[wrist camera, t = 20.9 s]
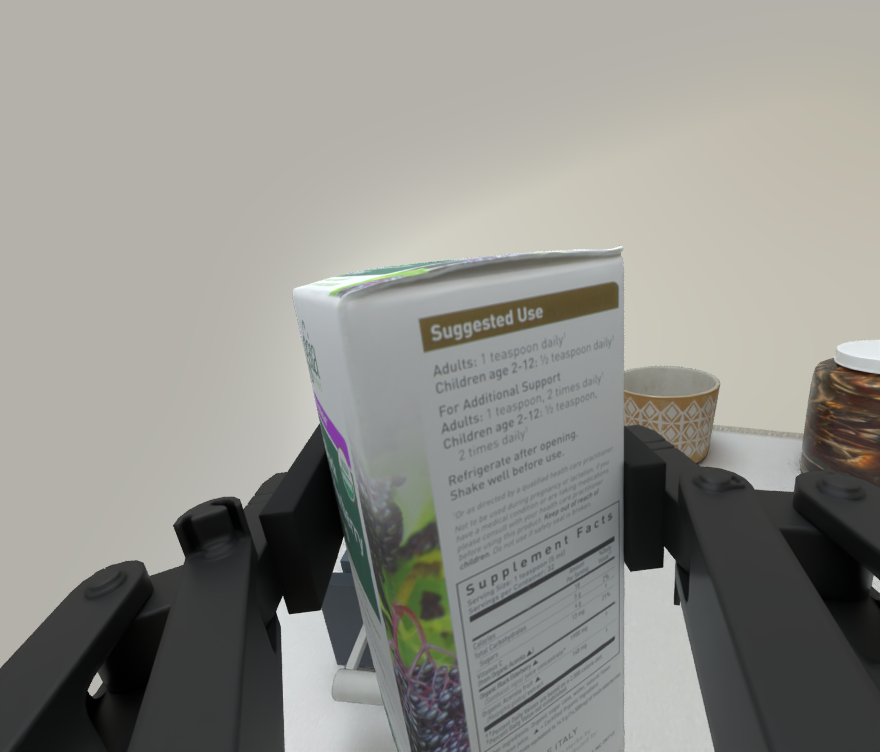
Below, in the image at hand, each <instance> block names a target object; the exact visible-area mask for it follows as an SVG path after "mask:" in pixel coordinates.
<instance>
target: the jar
mask: <svg viewBox="0 0 880 752" xmlns="http://www.w3.org/2000/svg"><path fill="white" fill-rule="evenodd" d="M800 468H801V471H802V473H805V472H811V471H834V472H837V473H839V472H841V473H845V474H849V475H851V476H853V477H857V478H860V479H863V480H865V481H867V482H870V483H872V484H874V485H876V486H878V487H880V340H863V341H862V340H861V341H852V342H846V343H843V344H840V345H839V346H837V349H836V356H835V358H832V359H828V360H825V361H823V362H820V363H819V364H818V365H817V366H816V368H815V371H814V373H813V377H812V382H811V388H810V394H809V400H808V408H807V414H806V422H805V429H804V437H803V445H802V453H801V463H800Z"/></svg>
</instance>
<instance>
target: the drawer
mask: <svg viewBox="0 0 880 752" xmlns="http://www.w3.org/2000/svg"><path fill="white" fill-rule="evenodd" d="M340 562H341V566H342V570H343V573H332V576H331V579H330V582H329V585H328V588H327V592H326V595H325V598H324V601H323V604H322V611H323V615H324V619H325V622H326V626H327V629H328V633H329V636H330V640H331V644H332V647H333V651H334V654H335V658H336V661H337V664H338V665H346V667H345V669H340V670H338V671H337V673H336V675H335V677H334V680H333V685H332V697H333V699H334V700H335V701H343V702H352V703H362V704H371V705H381V706H384V705H383V701H382V698H381V694H380V690H379V685H378V681H377V677H376V672H370V671H359V670H357V668H358V666H359V667H371V668H374V665H373V661H372V656H371V652H370V648H369V644H368V640H367V635H366V631H365V627H364V623H363V619H362V614H361V610H360V605H359V601H358V597H357V593H356V589H355V584H354V579H353V575H352V571H351V566H350V561H349V556H348V552H347V550H346V552H345V553H344V555H343V557H342V559H341V561H340Z"/></svg>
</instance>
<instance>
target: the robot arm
mask: <svg viewBox="0 0 880 752" xmlns="http://www.w3.org/2000/svg"><path fill="white" fill-rule="evenodd" d="M173 527H174V529H175V532H176V534H177V537H178V540H179V542H180V545H181V547H182V550H183V553H184V555H185V562H184V565H181V566H179V567H176V568H173V569H170V570H167V571H164V572H161V573H158V574H155V575H152V576H149V575H148V572H147V570H146V568H145V565H144V563H143V562H140V561H136V560H135V561H125V562H122V563H118V564H114V565H111V566H108V567H106V569H102V570H100V571H98V572H96V573H95V574H94V575H92V576H91V577H89V578H88V579H86V580H85V581H83V582H82V583H81V584H80V585H78V586H77V587H76V588H75V589H74V590H73V591H72V592H71V593H70V594H69V595H68V596H67V597H66V598H65V599H64V600H63V601H62V602H61V604H60V605H59V606H58V607H57V608H56V609H55V610H54V611H53V612H52V613H51V614H50V615H49V616H48V617H47V619H46V620H45V621H44V622H43V623H42V624H41V625H40V626H39V627H38V628H37V629H36V631H35V632H34V633H33V634H32V635H31V636H30V637H29V638H28V639H27V640H26V641H25V643H24V644H23V645H21V647H20V648H19V649H18V650H17V651H16V652H15V653H14V654H13V655H12V656H11V658H9V660H8V661H7V662H6V663H5V664H4V665H3V666H2V667H1V668H0V752H285V748H284V716H283V684H282V652H281V626H280V623H279V620H278V617H277V613H276V610H277V608H278V605H279V603H280V601H281V599H282V596H283V597H284V600H285V603H286V606H287V610H288V613H289V614H295V613H303V612H311V611H319V610H321V608H322V604H323V601H324V598H325V595H326V592H327V588H328V585H329V582H330V579H331V576H332V572H333V569H334V566H335V563H336V559H337V556H338V553H339V550H340V547H341V543H342V540H343V537H344V533H343V529H342V524H341V520H340V515H339V510H338V505H337V501H336V496H335V492H334V487H333V482H332V477H331V471H330V468H329V463H328V458H327V453H326V449H325V444H324V439H323V435H322V430H321V425H320V424H319V425H318V427H317V428H316V430H315V431H314V433H313V434H312V436H311V437H310V439H309V440H308V442H307V443H306V445H305V446H304V448H303V449H302V451H301V452H300V454H299V455H298V457H297V458H296V460H295V461H294V463H293V464H292V466H291V468H290V469H289V470H288V472H284V473H277V474H275V475H273V476H272V477H271V478H269V480H267V481H265V482H264V483H263V484H262V485H261V486H260V488H259V489H258V491H257V492H256V493H255V496H253V497H252V499H251V500H250V501H249V503H248V505H247V506H246V507H245V508H244V509H243V507H242V504H241V501H240V499H237V498H235V497H222V498H217V499H213V500H209V501H207V502H204V503H202V504H199V505H197V506H196V507H194V508H192V509H190V510H188V511H187V512H186V513H184V514H183V515H182V516H180V517H179V518H178V519H177V521H176V522H175V524H174V525H173ZM664 546H665V548H666V549H667V550H668V551H669V553H670V554H671V555H672V556H673V558H674V559H675V560H676V563H675V589H674V605H680V602H681V606H682V610H683V615H684V619H685V623H686V628H687V632H688V637H689V641H690V645H691V650H692V654H693V658H694V663H695V667H696V671H697V676H698V680H699V685H700V689H701V693H702V698H703V702H704V706H705V711H706V715H707V720H708V724H709V728H710V733H711V737H712V741H713V746H714V750H715V752H880V593H879V592H878V591H876V590H875V589H874V588H873V587H872V586H871V585H872V580H873V576H876V577H877V578H878V579H879V580H880V487H878V486H876V485H874V484H872V483H870V482H867V481H865V480H863V479H860V478H857V477H853V476H851V475H849V474H845V473H841V472H839V473H837V472H834V471H811V472H805V473H801V474H800V475H798V476H797V477H796V481H795V488H794V492H783V491H765V490H754V488H753V486H752V485H751V484H750V483H749V482H748V481H747V480H746V479H745V478H743V477H741V476H739V475H737V474H736V473H734V472H730V471H727V470H723V469H720V468H712V467H700V466H699V465H698V464H697V463H695V462H694V461H693V460H691V459H690V458H689V457H688V456H686V455H685V454H684V453H683V452H681V451H680V450H679V449H677V448H675V447H674V445H672V444H671V443H670V442H669V441H666V439H665V438H663V437H662V436H661V435H660V434H658V433H657V432H656V431H654V430H652V429H649V428H647V427H644V426H641V425H639V424H638V425H630V426H624V562H625V564H626V565H627V567H628V568H629V570H630V572H631V571H639V570H647V569H655V568H663V561H664ZM97 672H98V673H99V675H100V677H101V679H102V681H103V683H102V685H101V686H100V688H99V689H98V691H97V692H96V693H95V695H94V696H93V697H92V696H91V695H89V693H88V691H87V690H88V688H89V686H90V684H91V682H92V680H93V678H94V676H95V675H96V673H97Z"/></svg>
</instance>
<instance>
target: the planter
mask: <svg viewBox="0 0 880 752" xmlns="http://www.w3.org/2000/svg"><path fill="white" fill-rule="evenodd" d="M719 387H720V381H719V380H718V378H716V377H715V376H714V375H712V374H709V373H707V372H704V371H700V370H696V369H691V368H683V367H674V366H650V367H640V368H634V369H630V370H626V371H624V426H630V425H638V424H639V425H641V426H644V427H647V428H649V429H652V430H654V431H656V432H657V433H658V434H660V435H661V436H662V437H663V438H665V439H666V441H669V442H670V443H671V444H672V445H674V447H675V448H677V449H679V450H680V451H681V452H683V453H684V454H685V455H686V456H688V457H689V458H690V459H691V460H693V461H694V462H695V463H697V462H699V461H701V460H702V459H703V458H704V457H705V456H706V455H707V453H708V450H709V444H710V438H711V433H712V427H713V421H714V415H715V410H716V404H717V399H718V393H719Z"/></svg>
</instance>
